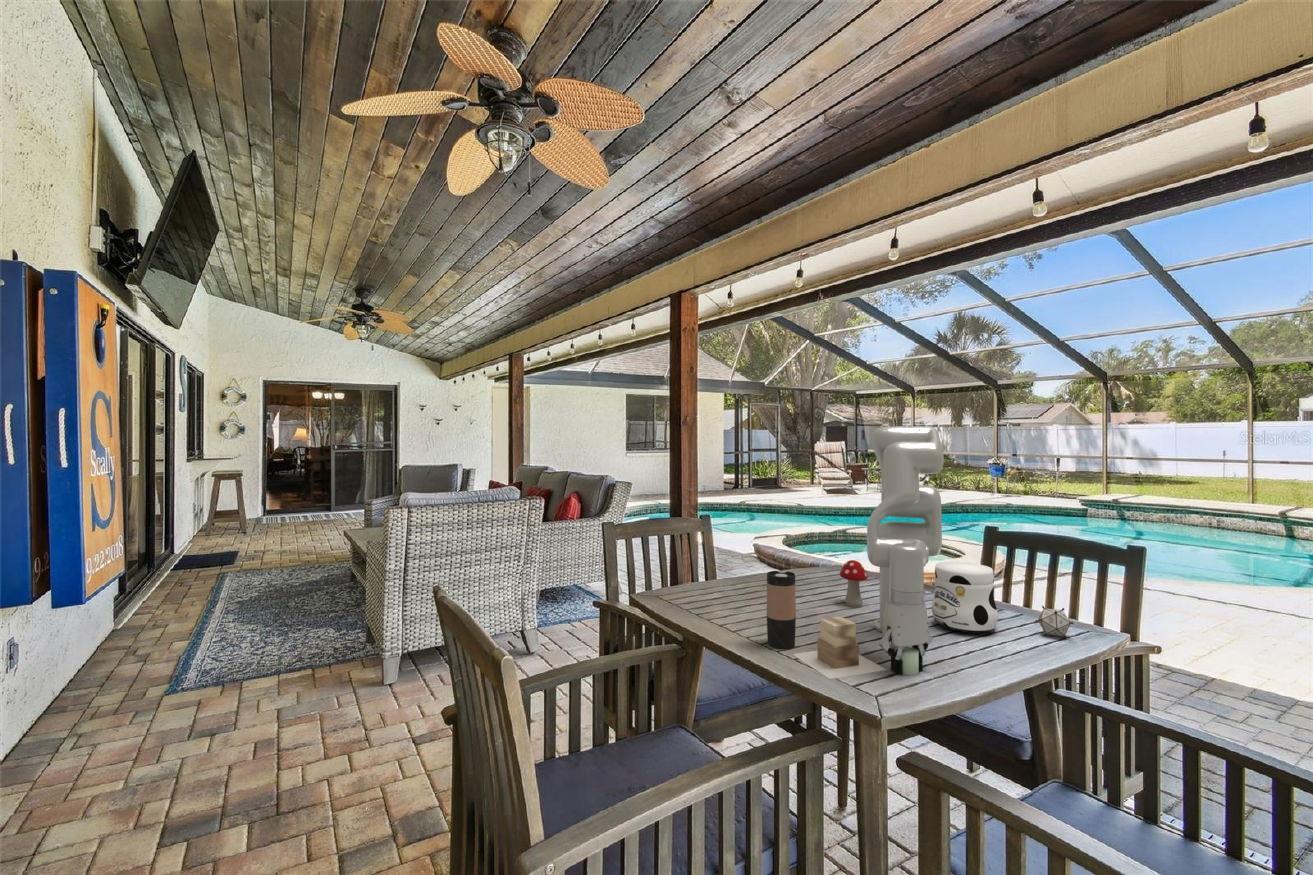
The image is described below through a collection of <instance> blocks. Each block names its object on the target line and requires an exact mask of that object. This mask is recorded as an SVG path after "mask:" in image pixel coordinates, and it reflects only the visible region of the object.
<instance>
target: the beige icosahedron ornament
mask: <svg viewBox="0 0 1313 875" xmlns="http://www.w3.org/2000/svg"><path fill="white" fill-rule="evenodd" d="M1041 608H1042V611H1041V614H1040V616H1039V617H1038V619H1036V620H1035V622H1036V623H1038V624H1039V626H1040V627H1041V628H1042V630H1043V632H1044V633H1043V637H1045V636H1047V635H1050V636H1060V637H1063V638H1064V639H1065V640H1067V636H1066V634H1067V632H1068V630H1069V628H1070V626H1071V625H1074V624H1075V622H1073V621H1072V622H1071V621H1070V619H1069V618H1068V617H1067V615H1066V613H1065V612H1064V611H1065V607H1063V608H1062V609H1057V608H1045V606H1043V605H1041Z"/></svg>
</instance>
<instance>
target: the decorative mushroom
mask: <svg viewBox="0 0 1313 875" xmlns="http://www.w3.org/2000/svg"><path fill="white" fill-rule="evenodd" d="M839 576H840V577H841V578H843V580H847V590H846V595H845V598H844V602H845V605H846V604H847V605H846V606H848V607H850V608H861V607H862V606H863V603H864V601H863V598H862V595H861V588H860V582H863V581H867V580H868V579H869V578H868V577H869V576H868V573H867V571H866V569H865V567H864V566H863V565H862V563H861V562H860V561H857V560H854V559H850V560H847V561H846V562H845V563H844V564H843V566H842V568H841V569H840V571H839Z"/></svg>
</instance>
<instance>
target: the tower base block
mask: <svg viewBox="0 0 1313 875" xmlns="http://www.w3.org/2000/svg"><path fill="white" fill-rule="evenodd" d="M816 641H817V644H816V645H817V646H816V647H817V650H816V651H817V658H818V659H819V660H821V661H823V662H824V663H826V664H827V665H829V666H831V667H832V668H834V669H837V668H844V667H850V666H857V665H859V655H860V645H859V643H857V642H856V644H853V645H846V646H839V647H834V646H832V645H830V644H829V643H827V642H825V641H823V640H821V639H820V637H817V639H816Z"/></svg>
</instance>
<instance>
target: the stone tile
mask: <svg viewBox="0 0 1313 875" xmlns="http://www.w3.org/2000/svg"><path fill="white" fill-rule="evenodd" d="M792 656H794V657H796V658H797V659H798V660H800V661H802V662H803V663H805V665H808V666H809V667H811V668H812V669H814V670H815V671H817V672H819V673H820V674H821V675H823V676H824V677H826V678H828V679H829V680H833V679H838V678H839V679H840V678H845V677H846V678H847V677H852V676H857V675H858V676H859V675H865V674H870V673H877V672H881V671H882V672H883V671H888V669H886V668H884V667H882V666H881V665H879V664H877V663H875V662H873V661H871V660H870V659H868V658H867V657H864V656H863V655H861V654H859V665H857V666H850V667H844V668H837V669H834V668H832V667H831V666H829V665H827V664H826V663H824V662H823V661H821V660H819V659H818V658H817V650H812V651H805V652H804V651H803V652H799V653H798V652H797V653H792Z"/></svg>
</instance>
